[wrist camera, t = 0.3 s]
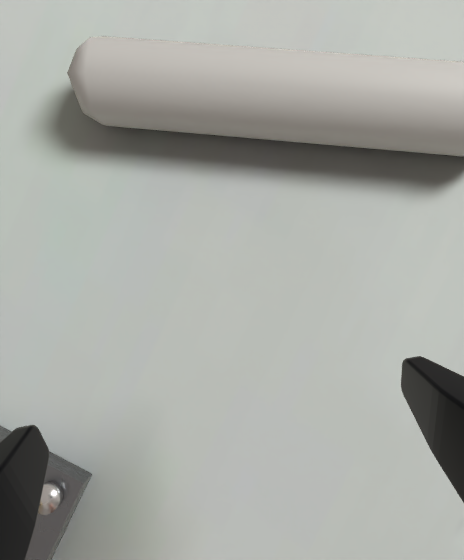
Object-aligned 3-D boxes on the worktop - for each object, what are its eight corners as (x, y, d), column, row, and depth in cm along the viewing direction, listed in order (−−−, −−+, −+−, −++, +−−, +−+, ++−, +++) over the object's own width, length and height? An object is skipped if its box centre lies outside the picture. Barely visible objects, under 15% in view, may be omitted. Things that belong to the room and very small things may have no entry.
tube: (53, 121, 21) (522, 161, 19) (49, 10, 20) (556, 44, 18) (95, 132, 26) (469, 164, 25) (94, 44, 25) (492, 73, 23)
